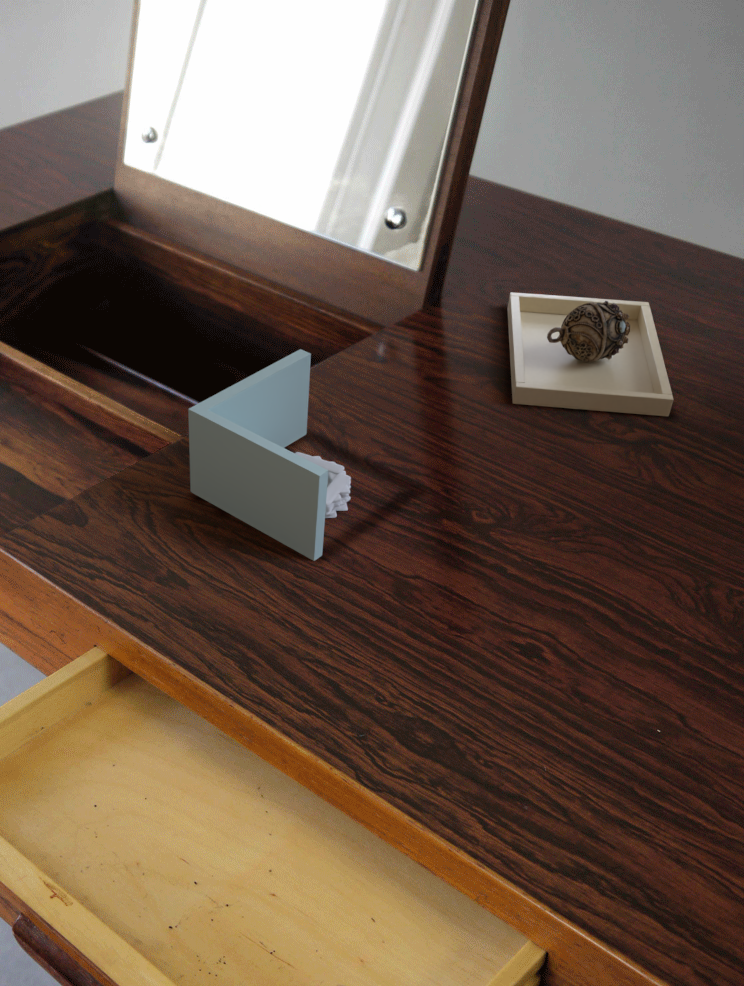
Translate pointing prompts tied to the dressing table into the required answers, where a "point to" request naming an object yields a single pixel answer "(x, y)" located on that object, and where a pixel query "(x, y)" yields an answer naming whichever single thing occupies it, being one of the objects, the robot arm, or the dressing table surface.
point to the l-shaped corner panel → (266, 457)
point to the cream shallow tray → (584, 385)
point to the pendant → (593, 331)
